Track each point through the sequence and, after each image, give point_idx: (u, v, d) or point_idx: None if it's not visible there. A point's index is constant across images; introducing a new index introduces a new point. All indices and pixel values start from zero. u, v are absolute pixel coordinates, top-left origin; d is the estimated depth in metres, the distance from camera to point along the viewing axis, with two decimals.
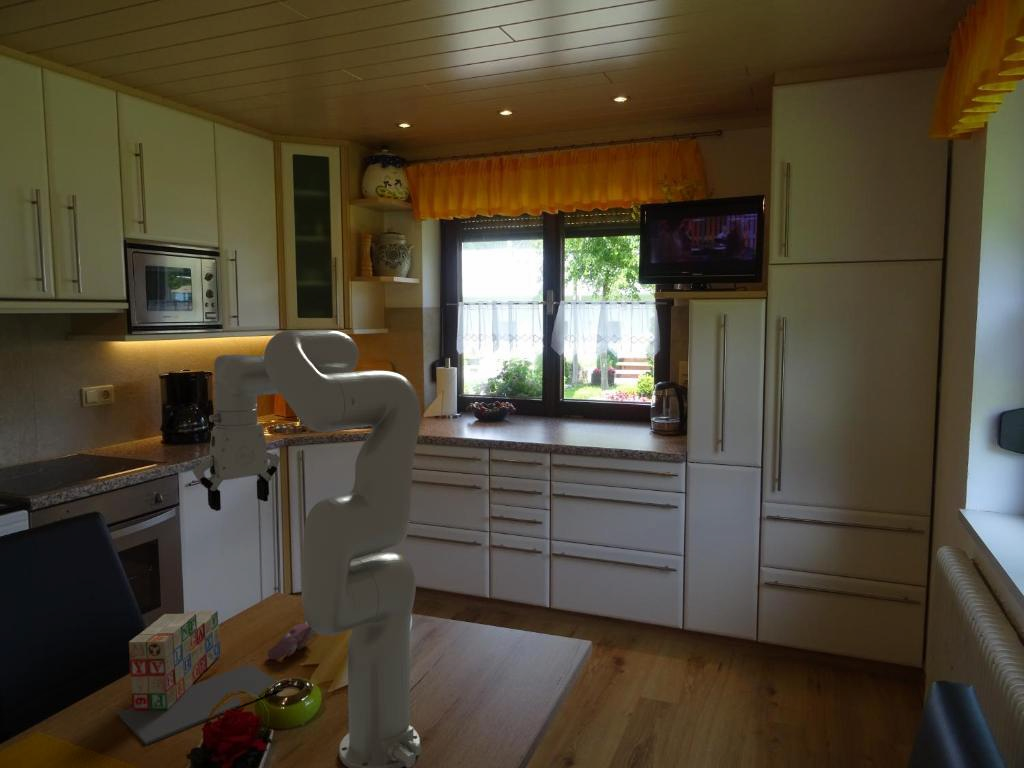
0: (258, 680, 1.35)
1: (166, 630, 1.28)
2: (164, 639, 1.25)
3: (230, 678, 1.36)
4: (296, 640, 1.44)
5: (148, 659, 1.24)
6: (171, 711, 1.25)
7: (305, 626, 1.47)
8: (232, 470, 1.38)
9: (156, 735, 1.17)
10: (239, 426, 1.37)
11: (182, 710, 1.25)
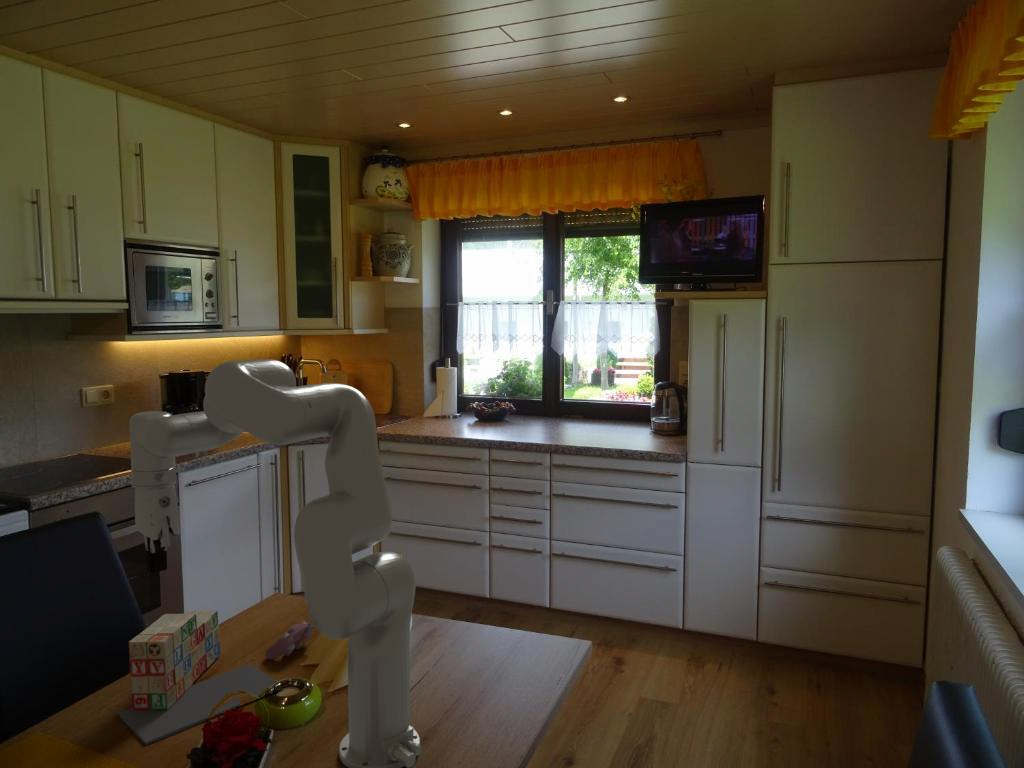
0: (258, 680, 1.35)
1: (166, 630, 1.28)
2: (164, 639, 1.25)
3: (230, 678, 1.36)
4: (294, 640, 1.45)
5: (148, 659, 1.24)
6: (171, 711, 1.25)
7: (303, 626, 1.47)
8: None
9: (156, 735, 1.17)
10: (175, 480, 1.39)
11: (182, 710, 1.25)
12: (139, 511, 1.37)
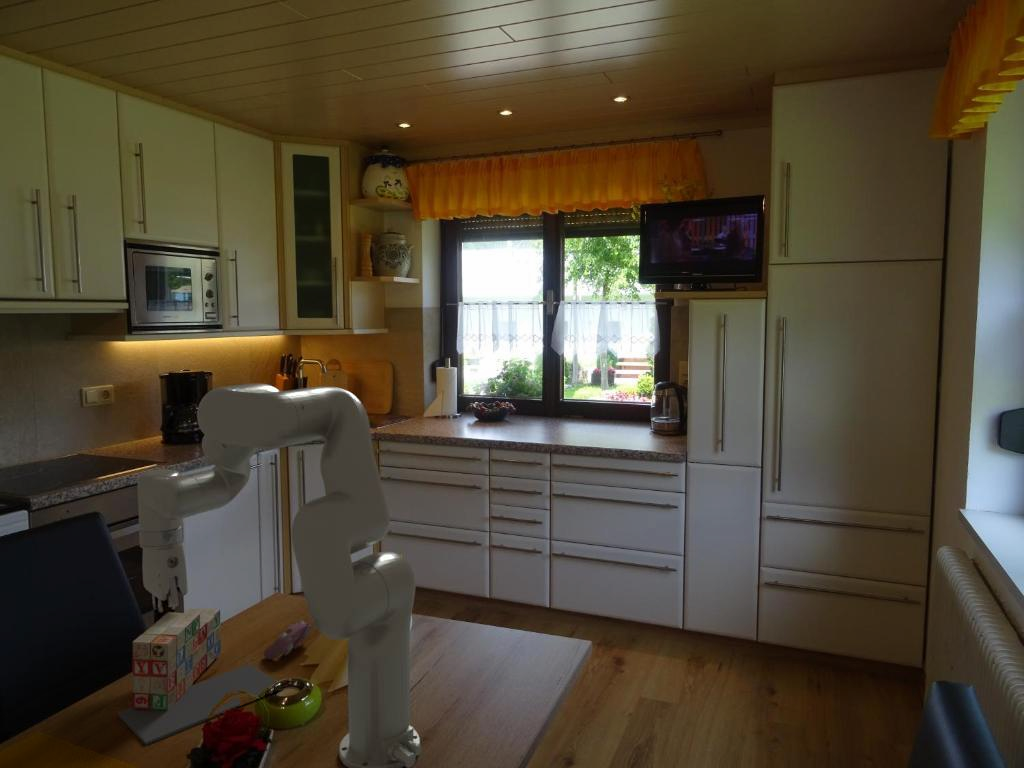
0: (258, 680, 1.35)
1: (170, 630, 1.28)
2: (168, 641, 1.25)
3: (230, 678, 1.36)
4: (292, 639, 1.45)
5: (151, 660, 1.24)
6: (171, 711, 1.25)
7: (301, 625, 1.48)
8: None
9: (156, 735, 1.17)
10: (183, 538, 1.39)
11: (182, 710, 1.25)
12: (147, 570, 1.36)
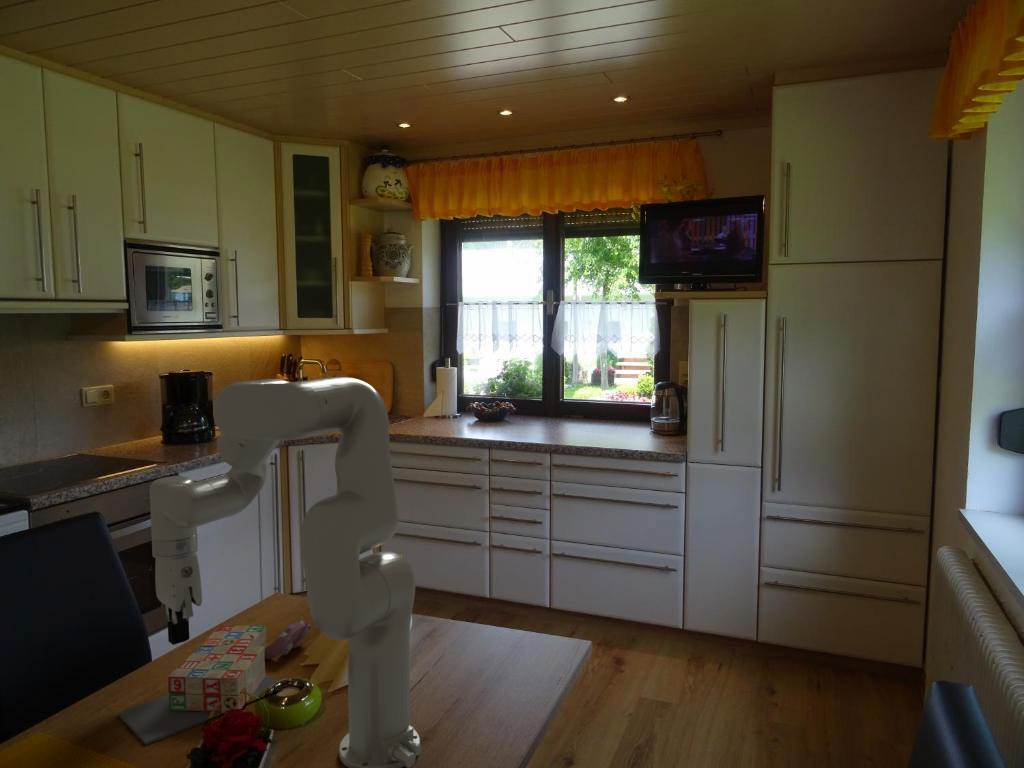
0: None
1: (249, 689, 1.28)
2: (240, 706, 1.25)
3: None
4: (292, 639, 1.45)
5: (220, 696, 1.24)
6: (171, 711, 1.25)
7: (300, 625, 1.48)
8: None
9: (156, 735, 1.17)
10: (197, 547, 1.35)
11: None
12: (160, 581, 1.32)
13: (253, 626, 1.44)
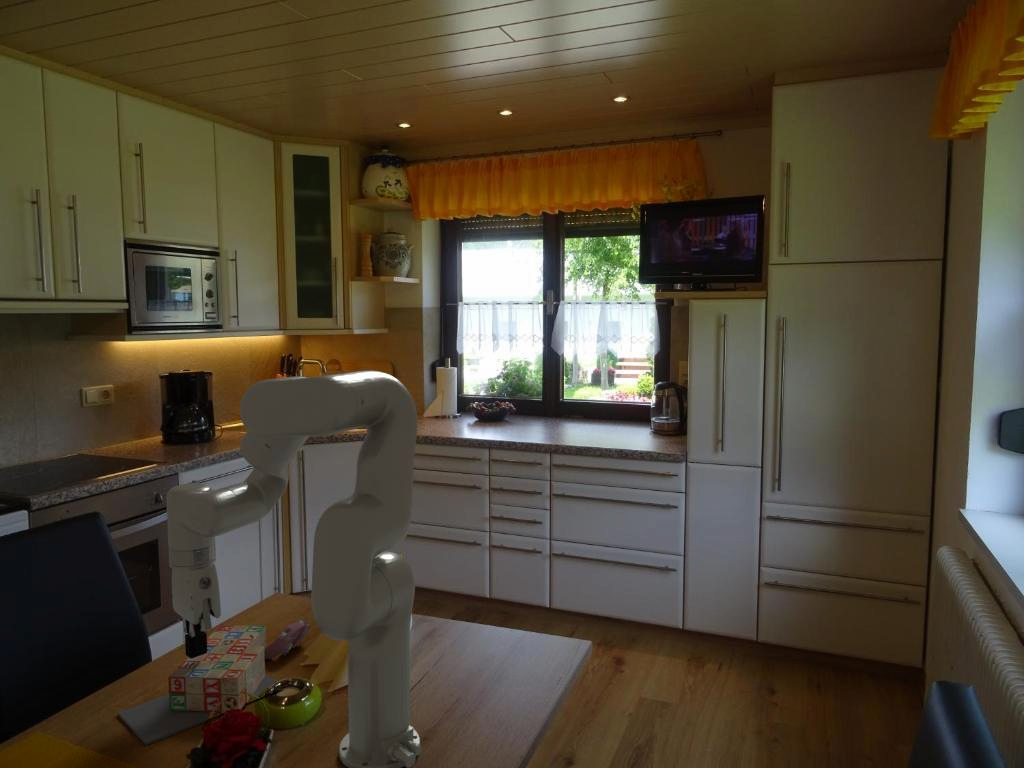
0: None
1: (249, 689, 1.28)
2: (241, 706, 1.25)
3: None
4: (292, 639, 1.45)
5: (220, 696, 1.24)
6: (171, 711, 1.25)
7: (300, 625, 1.48)
8: None
9: (156, 735, 1.17)
10: None
11: None
12: (177, 592, 1.27)
13: (253, 626, 1.44)
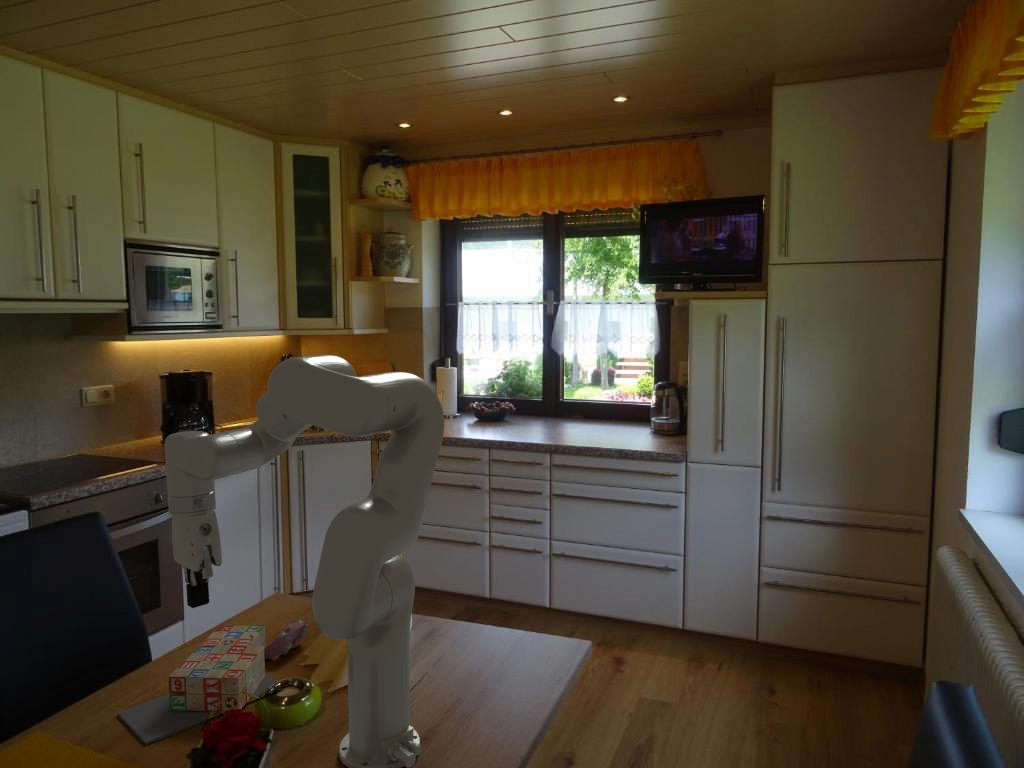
0: None
1: (250, 688, 1.28)
2: (241, 706, 1.25)
3: None
4: (291, 639, 1.45)
5: (221, 696, 1.24)
6: (171, 711, 1.25)
7: (299, 624, 1.48)
8: None
9: (156, 735, 1.17)
10: (215, 505, 1.28)
11: None
12: (177, 540, 1.26)
13: (252, 626, 1.44)
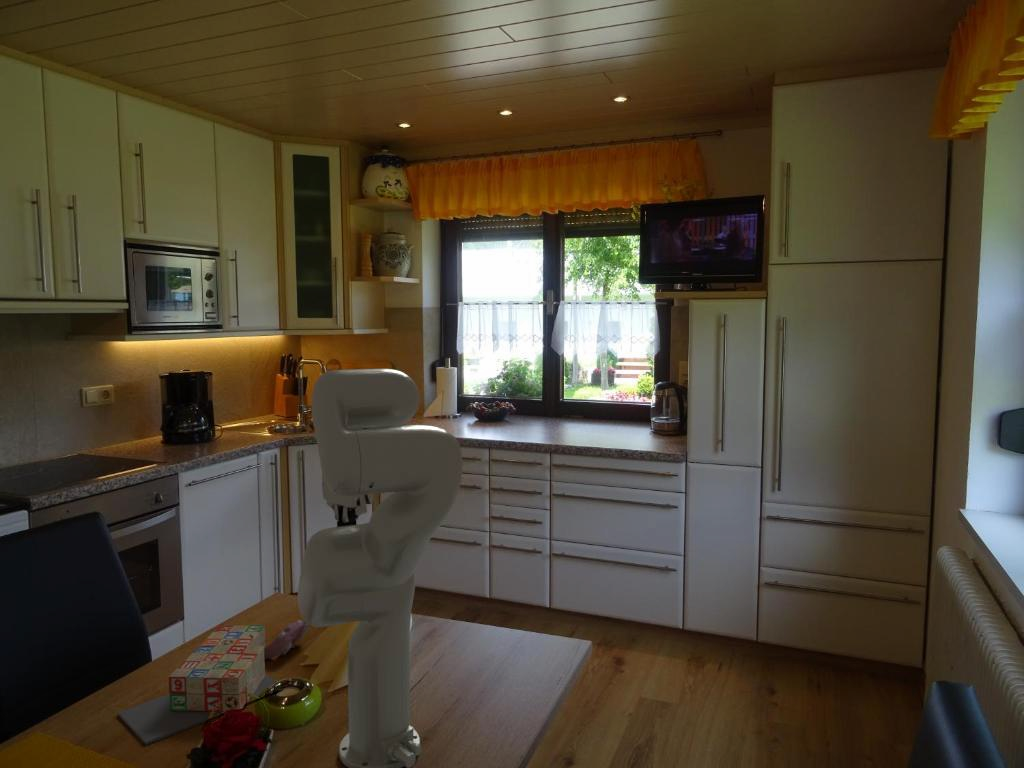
0: None
1: (250, 688, 1.29)
2: (241, 706, 1.25)
3: None
4: (291, 638, 1.45)
5: (221, 696, 1.24)
6: (171, 711, 1.25)
7: (299, 624, 1.48)
8: None
9: (156, 735, 1.17)
10: None
11: None
12: None
13: (252, 626, 1.44)
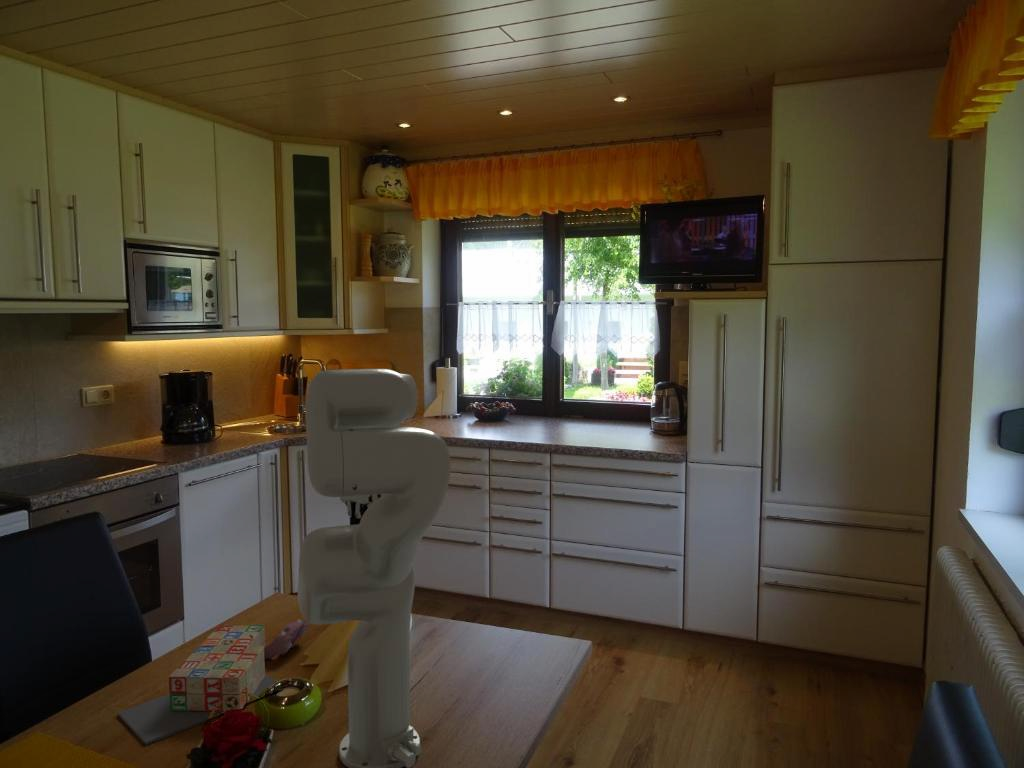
0: None
1: (250, 688, 1.29)
2: (242, 706, 1.25)
3: None
4: (291, 638, 1.45)
5: (221, 696, 1.24)
6: (171, 711, 1.25)
7: (299, 624, 1.48)
8: None
9: (156, 735, 1.17)
10: None
11: None
12: None
13: (252, 626, 1.44)
